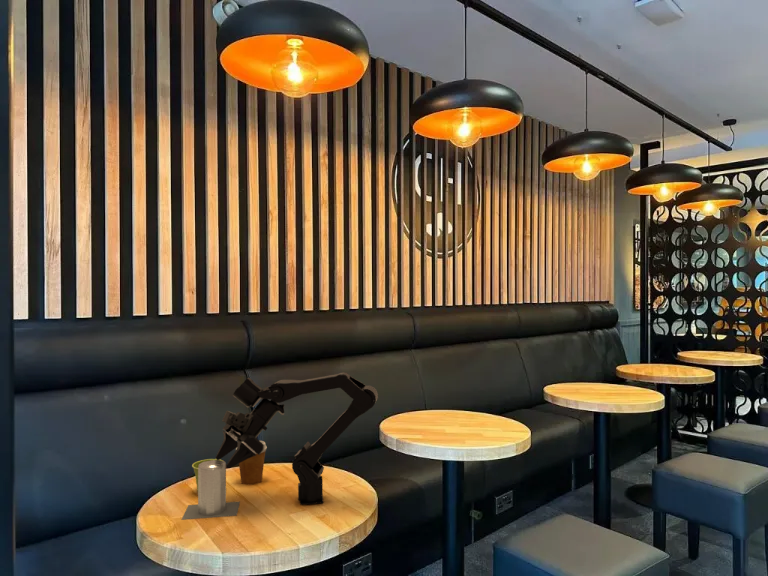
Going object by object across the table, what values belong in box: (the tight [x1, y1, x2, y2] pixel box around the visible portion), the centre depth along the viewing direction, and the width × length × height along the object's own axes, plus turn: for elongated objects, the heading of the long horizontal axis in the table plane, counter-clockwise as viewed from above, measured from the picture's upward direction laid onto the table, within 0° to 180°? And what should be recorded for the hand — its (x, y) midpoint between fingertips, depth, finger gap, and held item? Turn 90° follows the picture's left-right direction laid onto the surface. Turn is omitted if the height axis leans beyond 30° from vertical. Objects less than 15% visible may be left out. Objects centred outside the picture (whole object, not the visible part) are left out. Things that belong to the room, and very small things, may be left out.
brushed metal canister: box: [197, 459, 227, 516], centre depth 145 cm, size 7×7×12 cm
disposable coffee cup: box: [235, 440, 268, 485], centre depth 169 cm, size 10×10×12 cm
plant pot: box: [191, 458, 224, 493], centre depth 160 cm, size 9×9×9 cm
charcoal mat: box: [180, 501, 241, 521], centre depth 145 cm, size 14×10×1 cm
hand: (221, 463), depth 147 cm, fingers open, 9 cm apart
